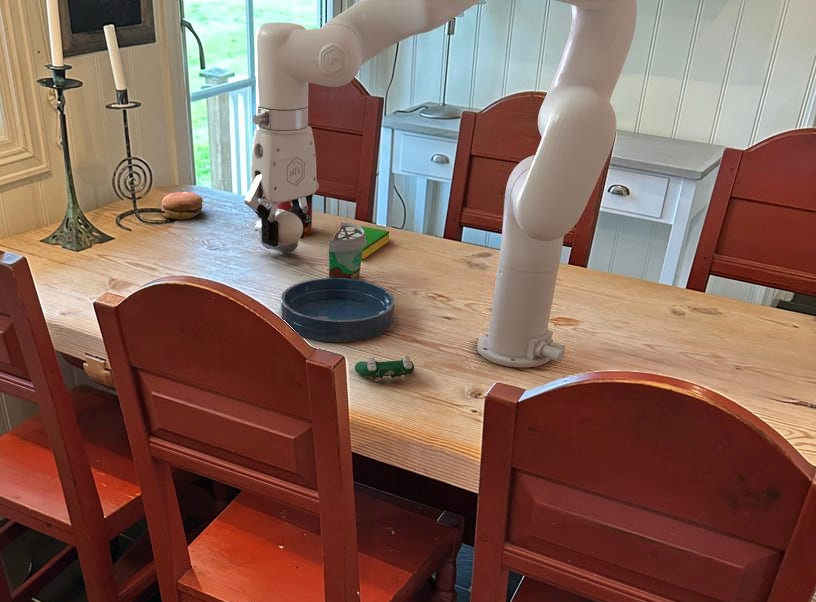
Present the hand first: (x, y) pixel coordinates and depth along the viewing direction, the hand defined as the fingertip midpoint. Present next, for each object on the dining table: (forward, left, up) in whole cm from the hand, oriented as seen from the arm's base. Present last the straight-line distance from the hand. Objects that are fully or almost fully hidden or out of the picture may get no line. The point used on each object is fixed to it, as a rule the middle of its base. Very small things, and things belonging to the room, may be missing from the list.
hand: (283, 239), depth 135 cm
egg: (0, 0, -1) cm, 1 cm away
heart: (+31, -28, -18) cm, 45 cm away
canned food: (+41, -42, -18) cm, 61 cm away
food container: (+11, -28, -18) cm, 35 cm away
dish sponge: (+23, -45, -18) cm, 54 cm away
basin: (0, -13, -18) cm, 22 cm away
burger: (+68, -31, -18) cm, 77 cm away
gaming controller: (-21, -2, -18) cm, 28 cm away
